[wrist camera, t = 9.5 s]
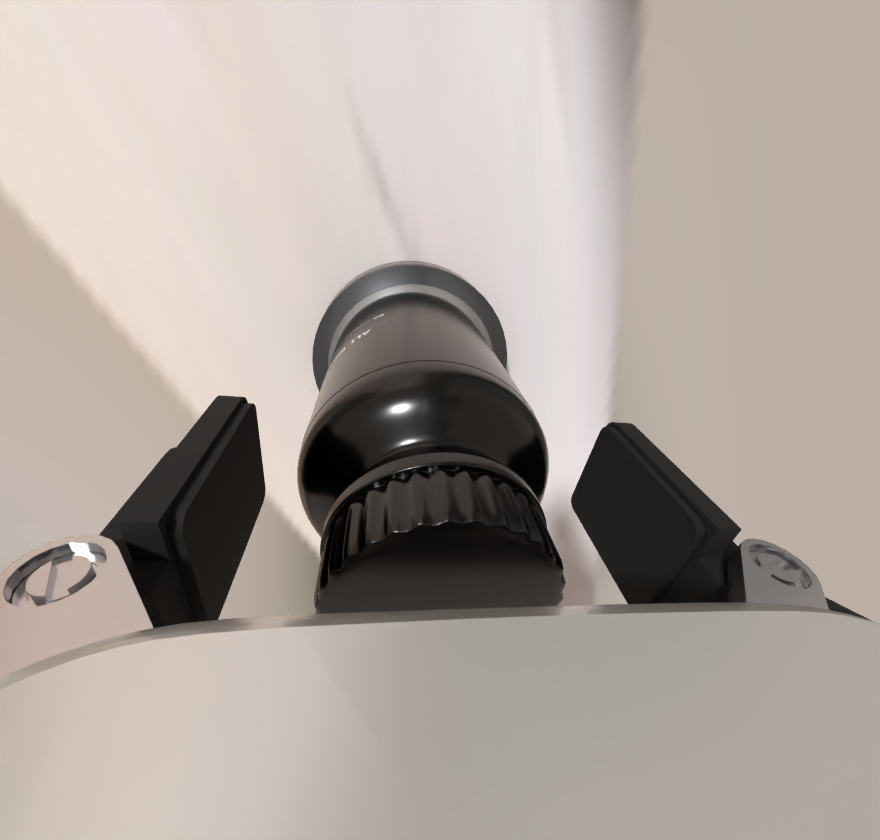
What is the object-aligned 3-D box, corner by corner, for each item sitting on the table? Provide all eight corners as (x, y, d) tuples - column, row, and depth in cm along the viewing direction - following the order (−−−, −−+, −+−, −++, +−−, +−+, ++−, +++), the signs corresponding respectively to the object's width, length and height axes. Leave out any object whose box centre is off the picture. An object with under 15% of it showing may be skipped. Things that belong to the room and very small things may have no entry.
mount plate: (315, 247, 16) (309, 251, 14) (518, 275, 17) (529, 281, 16) (318, 429, 20) (313, 446, 19) (480, 438, 22) (486, 454, 20)
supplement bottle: (328, 284, 15) (207, 463, 5) (493, 293, 16) (686, 455, 6) (338, 430, 18) (280, 718, 8) (473, 430, 19) (574, 686, 9)
